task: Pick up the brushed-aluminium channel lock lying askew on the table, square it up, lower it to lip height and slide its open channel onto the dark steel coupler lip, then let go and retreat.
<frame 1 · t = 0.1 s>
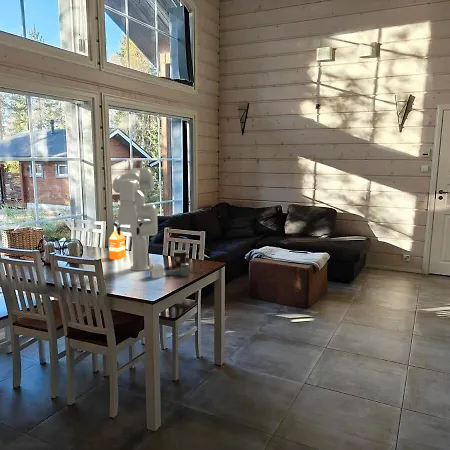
hand: (128, 235, 220), 31 cm above the table, fingers open, 9 cm apart
coupler: (179, 274, 254), on the table
coffee mug: (181, 266, 275), on the table
lock: (156, 276, 250), on the table
orange juice: (117, 258, 298), on the table
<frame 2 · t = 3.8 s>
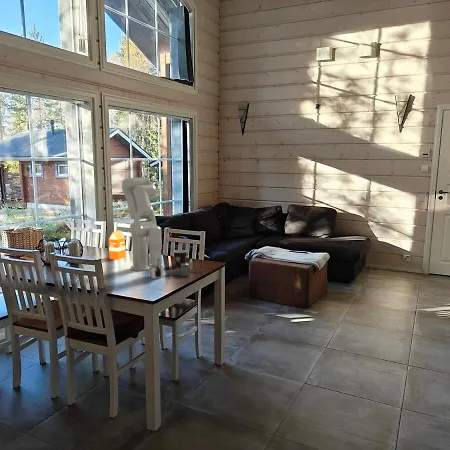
hand: (156, 275, 250), 1 cm above the table, fingers closed on lock, 6 cm apart
lock: (156, 276, 250), on the table, touching gripper
everything else where it was.
when the fingers open (2 cm above the table, at t = 10.3 s): lock stays where it is, resting in coupler.
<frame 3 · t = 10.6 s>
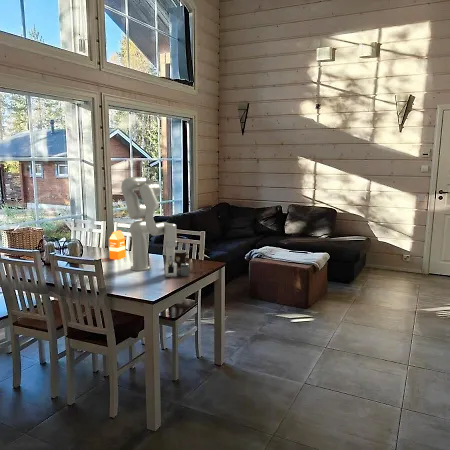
hand: (171, 270, 253), 3 cm above the table, fingers open, 8 cm apart
lock: (171, 275, 254), resting in coupler
everything else where it was.
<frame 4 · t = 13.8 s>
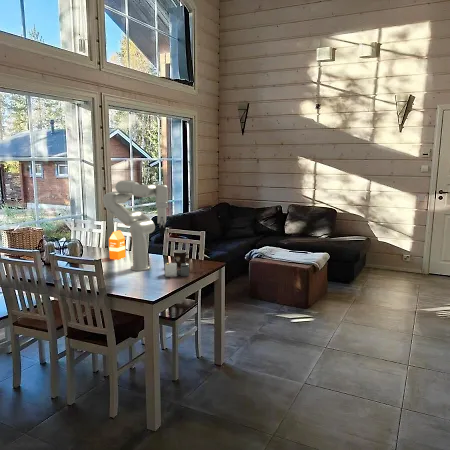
hand: (162, 232, 254), 26 cm above the table, fingers open, 9 cm apart
nothing on the table moved.
at the end: lock 1.6 cm from the target spot on the coupler, point 0.0 cm above the coupler's base; lock tilted 0°; the gripper is holding nothing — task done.
